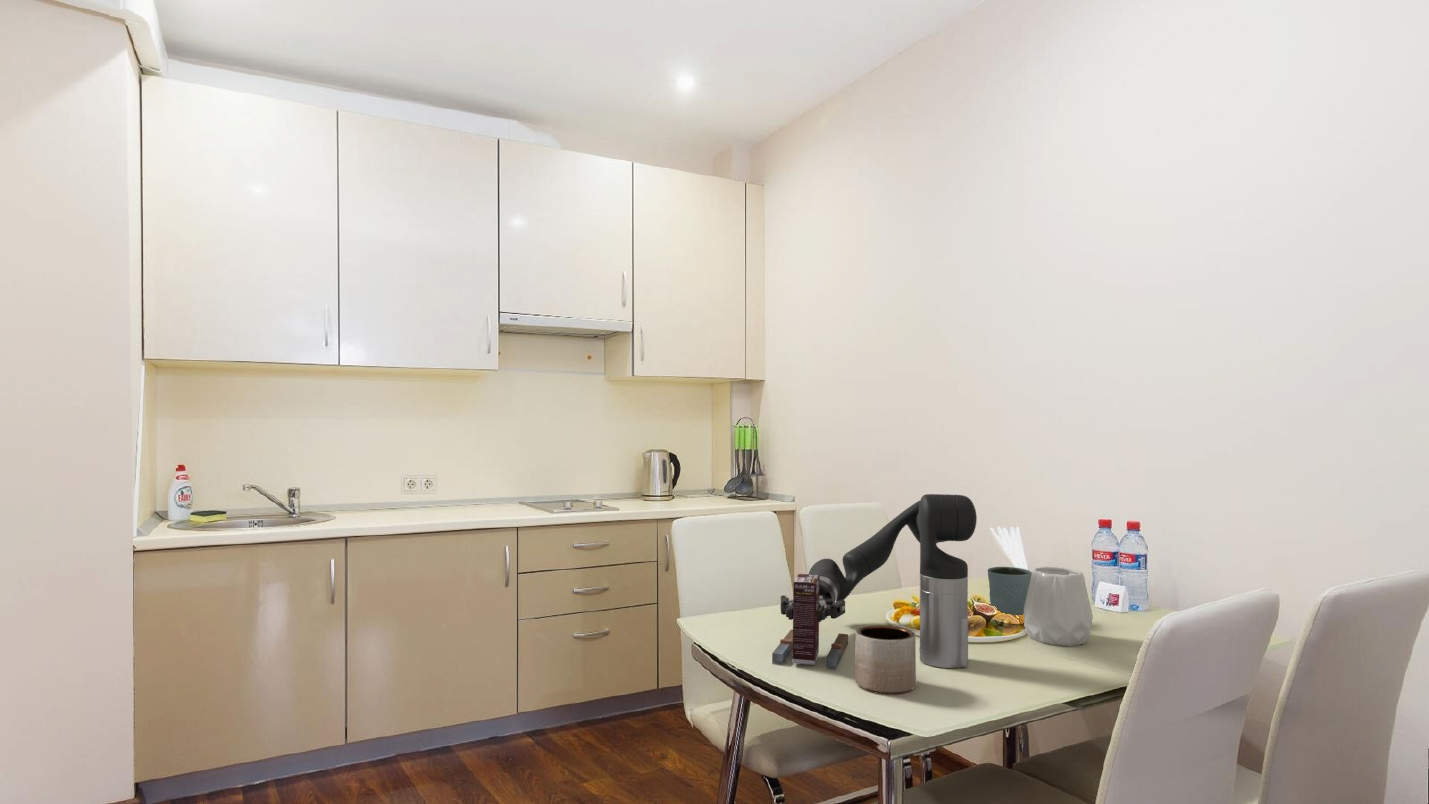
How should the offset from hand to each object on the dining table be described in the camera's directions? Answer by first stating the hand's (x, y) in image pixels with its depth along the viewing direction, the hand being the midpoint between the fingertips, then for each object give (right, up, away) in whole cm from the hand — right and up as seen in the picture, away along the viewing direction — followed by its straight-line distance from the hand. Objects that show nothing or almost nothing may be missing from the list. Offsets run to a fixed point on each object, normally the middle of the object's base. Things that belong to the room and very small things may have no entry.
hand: (804, 615), depth 156 cm
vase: (+58, -11, +20) cm, 62 cm away
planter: (+13, -10, -12) cm, 20 cm away
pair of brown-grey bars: (+2, -10, +7) cm, 12 cm away
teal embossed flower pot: (+54, -11, +37) cm, 66 cm away
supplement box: (+1, -9, +2) cm, 10 cm away
